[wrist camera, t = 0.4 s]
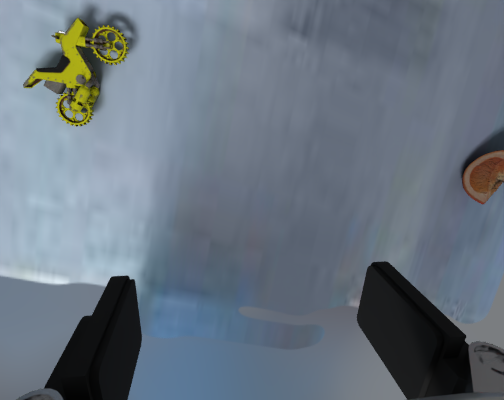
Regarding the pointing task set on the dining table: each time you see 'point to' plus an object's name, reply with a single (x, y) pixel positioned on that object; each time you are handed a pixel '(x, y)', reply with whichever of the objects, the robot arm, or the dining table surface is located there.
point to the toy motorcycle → (78, 69)
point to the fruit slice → (484, 176)
